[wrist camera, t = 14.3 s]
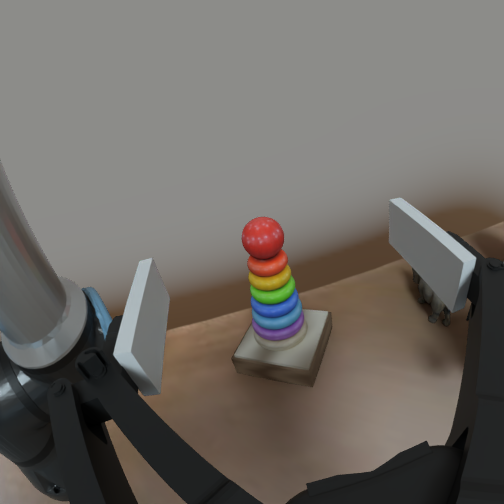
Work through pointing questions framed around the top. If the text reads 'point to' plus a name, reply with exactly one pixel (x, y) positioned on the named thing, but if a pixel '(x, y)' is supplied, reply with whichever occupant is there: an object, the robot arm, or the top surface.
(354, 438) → the top surface
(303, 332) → the stacking toy
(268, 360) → the pedestal
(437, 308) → the rhino figurine
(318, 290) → the top surface
